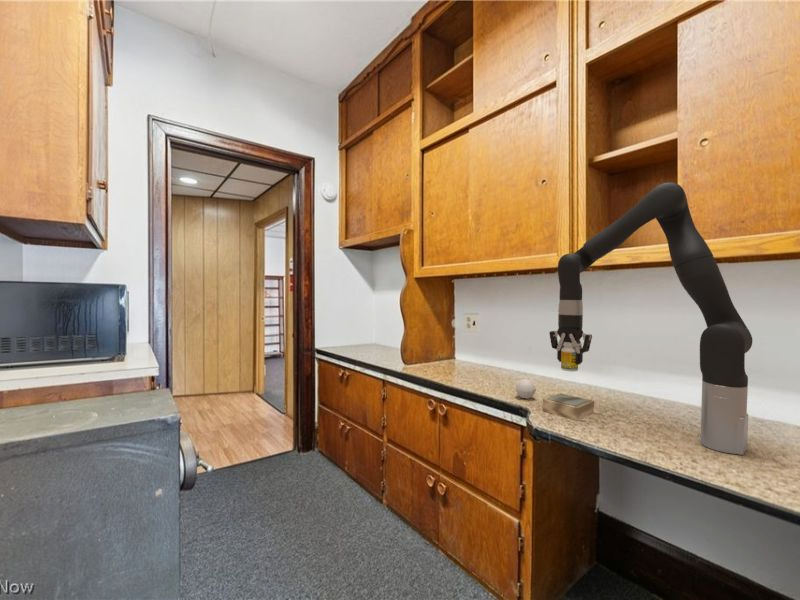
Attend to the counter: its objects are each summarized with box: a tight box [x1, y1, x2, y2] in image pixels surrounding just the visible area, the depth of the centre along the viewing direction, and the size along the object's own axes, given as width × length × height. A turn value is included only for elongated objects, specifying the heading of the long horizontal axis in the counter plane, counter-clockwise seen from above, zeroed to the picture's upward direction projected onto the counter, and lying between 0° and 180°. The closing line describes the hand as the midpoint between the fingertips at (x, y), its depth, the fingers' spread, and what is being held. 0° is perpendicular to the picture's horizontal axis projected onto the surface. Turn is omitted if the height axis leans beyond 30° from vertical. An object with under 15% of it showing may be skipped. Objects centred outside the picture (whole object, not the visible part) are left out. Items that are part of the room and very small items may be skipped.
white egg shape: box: [514, 378, 537, 400], centre depth 146 cm, size 10×7×7 cm
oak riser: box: [542, 392, 595, 421], centre depth 129 cm, size 12×12×4 cm
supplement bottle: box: [560, 342, 579, 372], centre depth 129 cm, size 5×5×10 cm
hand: (569, 362), depth 129 cm, fingers closed on supplement bottle, 5 cm apart
